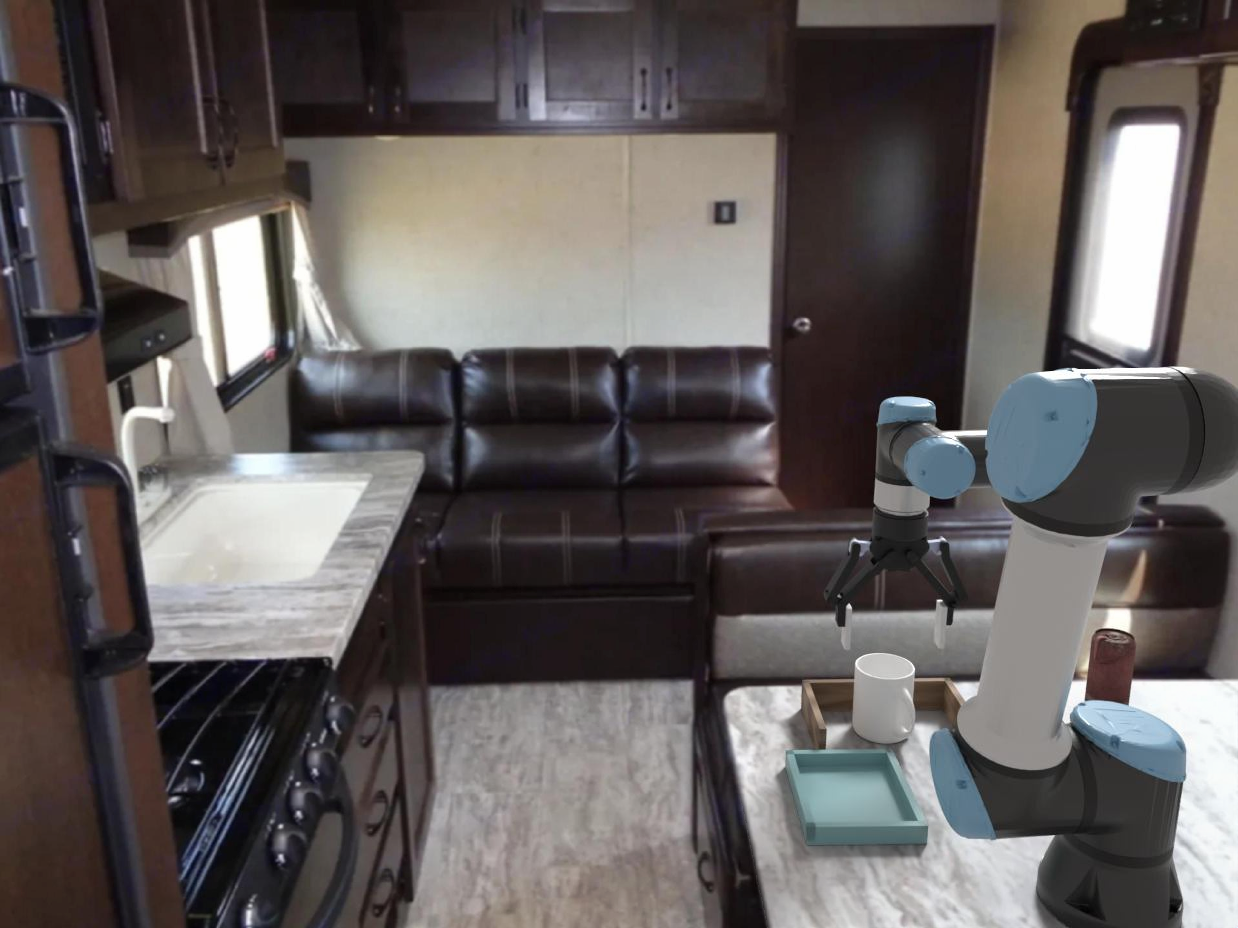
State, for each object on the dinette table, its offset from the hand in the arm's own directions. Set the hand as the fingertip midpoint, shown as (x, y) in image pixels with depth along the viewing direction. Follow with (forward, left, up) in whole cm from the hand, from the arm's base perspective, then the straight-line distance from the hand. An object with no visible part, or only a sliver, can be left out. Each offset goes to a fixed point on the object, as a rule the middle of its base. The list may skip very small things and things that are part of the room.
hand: (892, 645), depth 151 cm
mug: (0, 0, -15) cm, 15 cm away
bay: (+1, 0, -15) cm, 15 cm away
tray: (-17, +9, -15) cm, 24 cm away
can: (+4, -34, -15) cm, 37 cm away
